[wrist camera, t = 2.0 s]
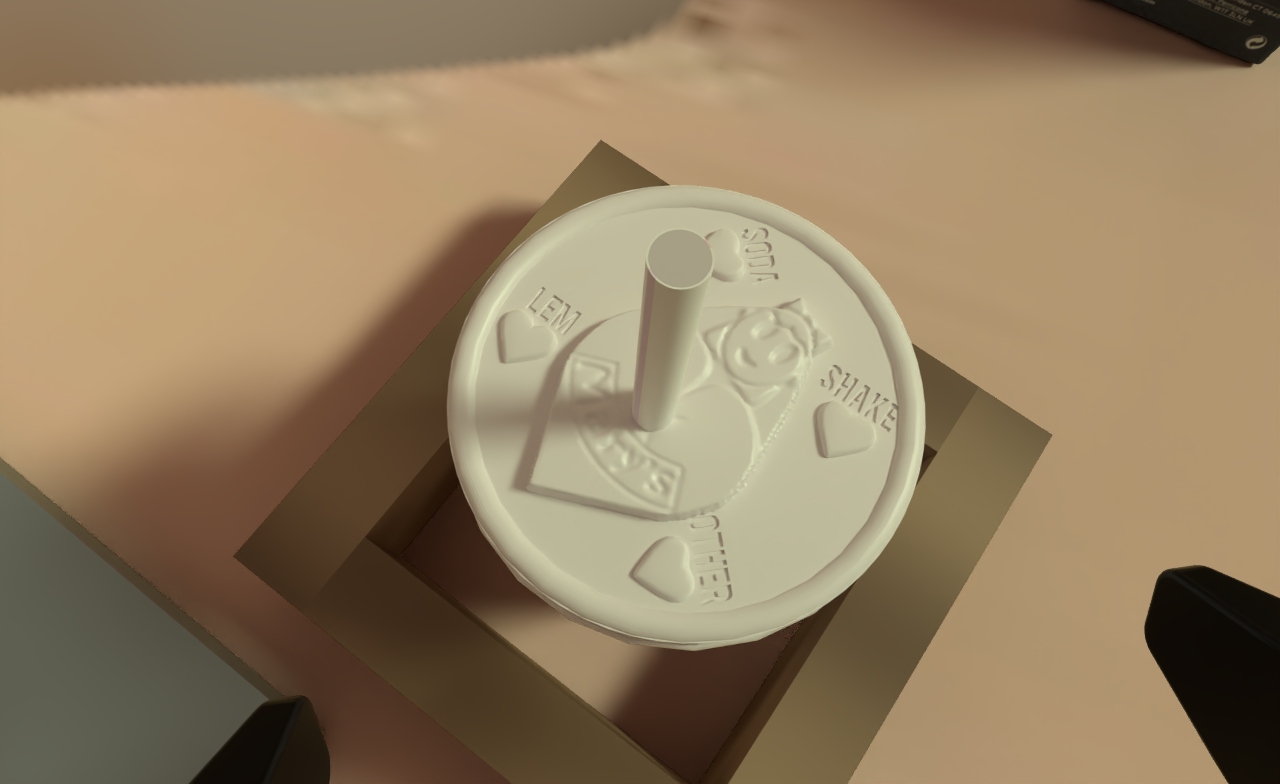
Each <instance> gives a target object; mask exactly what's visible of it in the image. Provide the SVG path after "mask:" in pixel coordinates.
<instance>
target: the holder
mask: <svg viewBox="0 0 1280 784" xmlns="http://www.w3.org/2000/svg"><path fill="white" fill-rule="evenodd" d="M657 186H670V185H669V184H668V183H666V182H664V181H663V180H661V179H660V178H658V177H657V176H655V175H654V174H652V173H651V172H649V171H648V170H646V169H645V168H643V167H642V166H640V165H638V164H637V163H635V162H634V161H632V160H631V159H629V158H628V157H626V156H625V155H623V154H622V153H620V152H619V151H617V150H616V149H614V148H612V147H611V146H609V145H608V144H606V143H605V142H603V141H602V140H600V142H599V143H598V144H597V145H596V146H595V147H594V148H593V149H592V151H591V152H590V153H589V154H588V155H587V156H586V157H585V158H584V160H583V161H582V162H581V163H580V164H579V165H578V166H577V168H576V169H575V170H574V171H573V172H572V173H571V174H570V175H569V177H568V178H567V179H566V180H565V181H564V182H563V183H562V185H561V186H560V187H559V188H558V189H557V190H556V191H555V192H554V194H553V195H552V196H551V197H550V198H549V199H548V200H547V202H546V203H545V204H544V205H543V206H542V207H541V208H540V209H539V211H538V212H537V213H536V214H535V215H534V216H533V217H532V219H531V220H530V221H529V222H528V223H527V224H526V225H525V226H524V228H523V229H522V230H521V231H520V232H519V233H518V234H517V235H516V237H515V238H514V239H513V240H512V241H511V242H510V243H509V245H508V246H507V247H506V248H505V249H504V250H503V251H502V252H501V254H500V255H499V256H498V257H497V258H496V259H495V260H494V262H493V263H492V264H491V265H490V266H489V267H488V268H487V269H486V271H485V272H484V273H483V274H482V275H481V276H480V277H479V279H478V280H477V281H476V282H475V283H474V284H473V285H472V286H471V288H470V289H469V290H468V291H467V292H466V293H465V294H464V295H463V297H462V298H461V299H460V300H459V301H458V302H457V303H456V305H455V306H454V307H453V308H452V309H451V310H450V311H449V312H448V314H447V315H446V316H445V317H444V318H443V319H442V320H441V322H440V323H439V324H438V325H437V326H436V327H435V328H434V329H433V331H432V332H431V333H430V334H429V335H428V336H427V337H426V339H425V340H424V341H423V342H422V343H421V344H420V345H419V346H418V348H417V349H416V350H415V351H414V352H413V353H412V354H411V356H410V357H409V358H408V359H407V360H406V361H405V362H404V363H403V365H402V366H401V367H400V368H399V369H398V370H397V371H396V372H395V374H394V375H393V376H392V377H391V378H390V379H389V380H388V382H387V383H386V384H385V385H384V386H383V387H382V388H381V389H380V391H379V392H378V393H377V394H376V395H375V396H374V397H373V399H372V400H371V401H370V402H369V403H368V404H367V405H366V406H365V408H364V409H363V410H362V411H361V412H360V413H359V414H358V416H357V417H356V418H355V419H354V420H353V421H352V422H351V423H350V425H349V426H348V427H347V428H346V429H345V430H344V431H343V433H342V434H341V435H340V436H339V437H338V438H337V439H336V440H335V442H334V443H333V444H332V445H331V446H330V447H329V448H328V449H327V451H326V452H325V453H324V454H323V455H322V456H321V457H320V459H319V460H318V461H317V462H316V463H315V464H314V465H313V466H312V468H311V469H310V470H309V471H308V472H307V473H306V474H305V476H304V477H303V478H302V479H301V480H300V481H299V482H298V483H297V485H296V486H295V487H294V488H293V489H292V490H291V491H290V493H289V494H288V495H287V496H286V497H285V498H284V499H283V500H282V502H281V503H280V504H279V505H278V506H277V507H276V508H275V510H274V511H273V512H272V513H271V514H270V515H269V516H268V517H267V519H266V520H265V521H264V522H263V523H262V524H261V525H260V526H259V528H258V529H257V530H256V531H255V532H254V533H253V534H252V536H251V537H250V538H249V539H248V540H247V541H246V542H245V543H244V545H243V546H242V547H241V548H240V549H239V550H238V551H237V553H236V554H235V555H234V556H233V557H235V558H236V559H237V560H238V561H239V562H241V563H242V564H243V565H244V566H246V567H247V568H248V569H249V570H250V571H252V572H253V573H254V574H255V575H257V576H258V577H259V578H260V579H261V580H263V581H264V582H265V583H266V584H268V585H269V586H270V587H271V588H272V589H274V590H275V591H276V592H277V593H279V594H280V595H281V596H282V597H283V598H285V599H286V600H287V601H288V602H290V603H291V604H292V605H293V606H295V607H296V608H297V609H298V610H299V611H301V612H302V613H303V614H304V615H306V616H307V617H308V618H309V619H310V620H312V621H313V622H314V623H315V624H317V625H318V626H319V627H320V628H321V629H323V630H324V631H325V632H326V633H328V634H329V635H330V636H331V637H332V638H334V639H335V640H336V641H337V642H339V643H340V644H341V645H342V646H344V647H345V648H346V649H347V650H348V651H350V652H351V653H352V654H353V655H355V656H356V657H357V658H358V659H359V660H361V661H362V662H363V663H364V664H366V665H367V666H368V667H369V668H370V669H372V670H373V671H374V672H375V673H377V674H378V675H379V676H380V677H381V678H383V679H384V680H385V681H386V682H388V683H389V684H390V685H391V686H392V687H394V688H395V689H396V690H397V691H399V692H400V693H401V694H402V695H404V696H405V697H406V698H407V699H408V700H410V701H411V702H412V703H413V704H415V705H416V706H417V707H418V708H419V709H421V710H422V711H423V712H424V713H426V714H427V715H428V716H429V717H430V718H432V719H433V720H434V721H435V722H437V723H438V724H439V725H440V726H441V727H443V728H444V729H445V730H446V731H448V732H449V733H450V734H451V735H453V736H454V737H455V738H456V739H457V740H459V741H460V742H461V743H462V744H464V745H465V746H466V747H467V748H468V749H470V750H471V751H472V752H473V753H475V754H476V755H477V756H478V757H479V758H481V759H482V760H483V761H484V762H486V763H487V764H488V765H489V766H490V767H492V768H493V769H494V770H495V771H497V772H498V773H499V774H500V775H501V776H503V777H504V778H505V779H506V780H508V781H509V782H510V783H511V784H690V783H689V782H687V781H686V780H685V779H683V778H682V777H681V776H680V775H678V774H677V773H676V772H674V771H673V770H672V769H671V768H669V767H668V766H667V765H666V764H664V763H663V762H662V761H660V760H659V759H658V758H657V757H655V756H654V755H653V754H652V753H650V752H649V751H648V750H646V749H645V748H644V747H643V746H641V745H640V744H639V743H637V742H636V741H635V740H634V739H632V738H631V737H630V736H629V735H627V734H626V733H625V732H623V731H622V730H621V729H620V728H618V727H617V726H616V725H615V724H613V723H612V722H611V721H609V720H608V719H607V718H606V717H604V716H603V715H602V714H601V713H599V712H598V711H597V710H595V709H594V708H593V707H592V706H590V705H589V704H588V703H586V702H585V701H584V700H583V699H581V698H580V697H579V696H578V695H576V694H575V693H574V692H572V691H571V690H570V689H569V688H567V687H566V686H565V685H564V684H562V683H561V682H560V681H558V680H557V679H556V678H555V677H553V676H552V675H551V674H549V673H548V672H547V671H546V670H544V669H543V668H542V667H541V666H539V665H538V664H537V663H535V662H534V661H533V660H532V659H530V658H529V657H528V656H527V655H525V654H524V653H523V652H521V651H520V650H519V649H518V648H516V647H515V646H514V645H513V644H511V643H510V642H509V641H507V640H506V639H505V638H504V637H502V636H501V635H500V634H498V633H497V632H496V631H495V630H493V629H492V628H491V627H490V626H488V625H487V624H486V623H484V622H483V621H482V620H481V619H479V618H478V617H477V616H476V615H474V614H473V613H472V612H470V611H469V610H468V609H467V608H465V607H464V606H463V605H461V604H460V603H459V602H458V601H456V600H455V599H454V598H453V597H451V596H450V595H449V594H447V593H446V592H445V591H444V590H442V589H441V588H440V587H439V586H437V585H436V584H435V583H433V582H432V581H431V580H430V579H428V578H427V577H426V576H424V575H423V574H422V573H421V572H419V571H418V570H417V569H416V568H414V567H413V566H412V565H410V564H409V563H408V562H407V561H405V560H404V559H403V558H402V557H400V555H401V554H402V553H403V551H404V550H405V549H406V548H407V547H408V545H409V544H410V543H411V542H412V540H413V539H414V538H415V537H416V536H417V534H418V533H419V532H420V531H421V529H422V528H423V527H424V526H425V525H426V523H427V522H428V521H429V520H430V518H431V517H432V516H433V515H434V514H435V512H436V511H437V510H438V509H439V507H440V506H441V505H442V504H443V503H444V501H445V500H446V499H447V498H448V496H449V495H450V494H451V493H452V492H453V490H454V489H455V488H456V487H457V485H458V484H459V483H460V481H459V478H458V476H457V473H456V469H455V465H454V461H453V457H452V453H451V447H450V441H449V434H448V423H447V394H448V381H449V375H450V369H451V363H452V359H453V355H454V351H455V348H456V344H457V341H458V338H459V335H460V333H461V330H462V327H463V325H464V322H465V320H466V318H467V316H468V314H469V312H470V310H471V308H472V306H473V304H474V302H475V300H476V298H477V297H478V295H479V294H480V292H481V290H482V289H483V287H484V286H485V284H486V283H487V281H488V280H489V279H490V277H491V276H492V275H493V274H494V272H495V271H496V270H497V269H498V267H499V266H500V265H501V264H502V263H503V262H504V261H505V260H506V258H507V257H508V256H509V255H510V254H511V253H512V252H513V251H514V250H515V249H516V248H517V247H519V246H520V245H521V244H522V243H523V242H524V241H526V240H527V239H528V238H529V237H530V236H531V235H533V234H534V233H535V232H537V231H538V230H540V229H541V228H543V227H544V226H545V225H547V224H548V223H550V222H551V221H553V220H555V219H557V218H558V217H560V216H562V215H564V214H565V213H567V212H569V211H571V210H573V209H576V208H578V207H580V206H582V205H584V204H586V203H589V202H592V201H595V200H597V199H600V198H603V197H606V196H609V195H613V194H617V193H621V192H625V191H629V190H635V189H641V188H647V187H657ZM912 346H913V349H914V352H915V356H916V359H917V362H918V366H919V370H920V375H921V379H922V384H923V392H924V401H925V425H926V429H925V441H924V451H923V457H922V462H921V467H920V473H919V476H918V479H917V483H916V486H915V489H914V493H913V496H912V498H911V500H910V503H909V505H908V507H907V510H906V512H905V515H904V517H903V519H902V520H901V522H900V524H899V526H898V528H897V529H896V531H895V533H894V535H893V537H892V538H891V539H890V541H889V542H888V544H887V545H886V547H885V548H884V549H883V551H882V552H881V554H880V555H879V556H878V557H877V559H876V560H875V561H874V562H873V563H872V564H871V565H870V567H869V568H868V569H867V570H866V571H865V572H864V573H863V574H862V575H861V576H860V577H859V578H858V579H857V580H856V581H855V582H854V583H853V584H852V585H850V586H849V587H848V588H847V589H846V590H845V591H843V592H842V593H841V594H839V595H838V596H837V597H835V598H834V599H833V600H831V601H830V602H829V603H827V604H826V605H824V606H823V607H822V608H820V609H819V610H818V611H817V612H816V613H815V614H813V615H810V616H808V617H806V618H805V619H804V620H803V622H802V623H801V625H800V626H799V628H798V630H797V631H796V633H795V634H794V636H793V637H792V639H791V640H790V642H789V644H788V645H787V647H786V648H785V650H784V651H783V653H782V654H781V656H780V658H779V659H778V661H777V662H776V664H775V665H774V667H773V668H772V670H771V672H770V673H769V675H768V676H767V678H766V679H765V681H764V682H763V684H762V686H761V687H760V689H759V690H758V692H757V693H756V695H755V696H754V698H753V700H752V701H751V703H750V704H749V706H748V707H747V709H746V710H745V712H744V714H743V715H742V717H741V718H740V720H739V721H738V723H737V724H736V726H735V728H734V729H733V731H732V732H731V734H730V735H729V737H728V738H727V740H726V742H725V743H724V745H723V746H722V748H721V749H720V751H719V752H718V754H717V756H716V757H715V759H714V760H713V762H712V763H711V765H710V766H709V768H708V770H707V771H706V773H705V774H704V776H703V777H702V779H701V781H700V782H699V784H847V783H848V782H849V780H850V778H851V776H852V775H853V773H854V771H855V770H856V768H857V766H858V765H859V763H860V761H861V759H862V758H863V756H864V754H865V753H866V751H867V749H868V748H869V746H870V744H871V742H872V741H873V739H874V737H875V736H876V734H877V732H878V731H879V729H880V727H881V726H882V724H883V722H884V720H885V719H886V717H887V715H888V714H889V712H890V710H891V709H892V707H893V705H894V703H895V702H896V700H897V698H898V697H899V695H900V693H901V692H902V690H903V688H904V686H905V685H906V683H907V681H908V680H909V678H910V676H911V675H912V673H913V671H914V669H915V668H916V666H917V664H918V663H919V661H920V659H921V658H922V656H923V654H924V652H925V651H926V649H927V647H928V646H929V644H930V642H931V641H932V639H933V637H934V635H935V634H936V632H937V630H938V629H939V627H940V625H941V624H942V622H943V620H944V619H945V617H946V615H947V613H948V612H949V610H950V608H951V607H952V605H953V603H954V602H955V600H956V598H957V596H958V595H959V593H960V591H961V590H962V588H963V586H964V585H965V583H966V581H967V579H968V578H969V576H970V574H971V573H972V571H973V569H974V568H975V566H976V564H977V562H978V561H979V559H980V557H981V556H982V554H983V552H984V551H985V549H986V547H987V545H988V544H989V542H990V540H991V539H992V537H993V535H994V534H995V532H996V530H997V528H998V527H999V525H1000V523H1001V522H1002V520H1003V518H1004V517H1005V515H1006V513H1007V511H1008V510H1009V508H1010V506H1011V505H1012V503H1013V501H1014V500H1015V498H1016V496H1017V495H1018V493H1019V491H1020V489H1021V488H1022V486H1023V484H1024V483H1025V481H1026V479H1027V478H1028V476H1029V474H1030V472H1031V471H1032V469H1033V467H1034V466H1035V464H1036V462H1037V461H1038V459H1039V457H1040V455H1041V454H1042V452H1043V450H1044V449H1045V447H1046V445H1047V444H1048V442H1049V440H1050V438H1051V437H1052V434H1050V433H1049V432H1047V431H1046V430H1044V429H1042V428H1041V427H1039V426H1038V425H1036V424H1035V423H1033V422H1032V421H1030V420H1029V419H1027V418H1026V417H1024V416H1023V415H1021V414H1020V413H1018V412H1016V411H1015V410H1013V409H1012V408H1010V407H1009V406H1007V405H1006V404H1004V403H1003V402H1001V401H1000V400H998V399H997V398H995V397H993V396H992V395H990V394H989V393H987V392H986V391H984V390H983V389H981V388H980V387H978V386H977V385H975V384H974V383H972V382H971V381H969V380H967V379H966V378H964V377H963V376H961V375H960V374H958V373H957V372H955V371H954V370H952V369H951V368H949V367H948V366H946V365H945V364H943V363H941V362H940V361H938V360H937V359H935V358H934V357H932V356H931V355H929V354H928V353H926V352H925V351H923V350H922V349H920V348H919V347H917V346H915V345H914V344H912Z"/></svg>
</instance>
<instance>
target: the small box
mask: <svg viewBox="0 0 1280 784" xmlns="http://www.w3.org/2000/svg"><path fill="white" fill-rule="evenodd" d="M1104 1H1106V2H1108V3H1110V4H1113V5H1116V6H1117V7H1120V8H1122V9H1124V10H1127V11H1130V12H1132V13H1135V14H1137V15H1140V16H1142V17H1145V18H1147V19H1149V20H1151V21H1154V22H1156V23H1158V24H1160V25H1163V26H1165V27H1167V28H1170V29H1172V30H1174V31H1176V32H1179V33H1181V34H1183V35H1186V36H1188V37H1191V38H1193V39H1195V40H1198V41H1199V42H1201V43H1203V44H1205V45H1207V46H1210V47H1213V48H1216V49H1218V50H1220V51H1223V52H1225V53H1227V54H1230V55H1233V56H1235V57H1238V58H1241V59H1243V60H1246V61H1248V62H1251V63H1255V64H1261V63H1262V62H1263V61H1264V60H1265V59H1266V58H1267V57H1268V56H1269V55H1270V54H1271V53H1273V52H1274V51H1275V50H1276V49H1277V48H1278V47H1279V46H1280V0H1104Z"/></svg>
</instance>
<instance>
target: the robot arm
mask: <svg viewBox="0 0 1280 784" xmlns="http://www.w3.org/2000/svg"><path fill="white" fill-rule="evenodd" d="M1144 632H1145V639H1146V642H1147V645H1148V648H1149V650H1150V652H1151V654H1152V655H1153V657H1154V659H1155V661H1156V662H1157V664H1158V666H1159V667H1160V669H1161V671H1162V673H1163V674H1164V676H1165V678H1166V679H1167V681H1168V683H1169V685H1170V686H1171V688H1172V690H1173V691H1174V693H1175V695H1176V697H1177V698H1178V700H1179V702H1180V703H1181V705H1182V707H1183V708H1184V710H1185V712H1186V714H1187V715H1188V717H1189V719H1190V720H1191V722H1192V724H1193V726H1194V727H1195V729H1196V731H1197V732H1198V734H1199V736H1200V738H1201V739H1202V741H1203V743H1204V744H1205V746H1206V748H1207V750H1208V751H1209V753H1210V755H1211V756H1212V758H1213V760H1214V761H1215V763H1216V765H1217V766H1218V768H1219V769H1220V771H1221V773H1222V774H1223V776H1224V777H1225V779H1226V781H1227V782H1228V784H1280V598H1278V597H1276V596H1274V595H1271V594H1269V593H1267V592H1265V591H1262V590H1260V589H1258V588H1255V587H1253V586H1251V585H1248V584H1246V583H1244V582H1242V581H1239V580H1237V579H1235V578H1232V577H1230V576H1228V575H1225V574H1223V573H1221V572H1218V571H1216V570H1214V569H1212V568H1209V567H1206V566H1202V565H1193V566H1186V567H1179V568H1172V569H1167V570H1165V571H1163V572H1162V573H1161V574H1160V575H1159V577H1158V579H1157V581H1156V585H1155V588H1154V592H1153V596H1152V599H1151V603H1150V607H1149V610H1148V614H1147V618H1146V621H1145V627H1144ZM329 781H330V757H329V752H328V748H327V745H326V742H325V740H324V737H323V734H322V731H321V728H320V725H319V723H318V720H317V717H316V714H315V711H314V708H313V706H312V703H311V702H310V700H309V699H308V698H307V697H305V696H301V695H299V696H292V697H285V698H278V699H272V700H268V701H265V702H263V703H262V704H261V705H259V706H258V707H257V708H256V709H255V710H254V712H253V713H252V714H251V715H250V716H249V717H248V718H247V719H246V720H245V722H244V723H243V724H242V725H241V726H240V727H239V728H238V729H237V730H236V731H235V733H234V734H233V735H232V736H231V737H230V738H229V739H228V740H227V741H226V743H225V744H224V745H223V746H222V747H221V748H220V749H219V750H218V751H217V752H216V754H215V755H214V756H213V757H212V758H211V759H210V760H209V761H208V762H207V764H206V765H205V766H204V767H203V768H202V769H201V770H200V771H199V772H198V773H197V775H196V776H195V777H194V778H193V779H192V780H191V781H190V782H189V783H188V784H329Z"/></svg>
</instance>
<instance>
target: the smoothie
mask: <svg viewBox="0 0 1280 784" xmlns="http://www.w3.org/2000/svg"><path fill="white" fill-rule="evenodd" d="M447 423H448V434H449V441H450V447H451V453H452V457H453V461H454V465H455V469H456V473H457V476H458V478H459V481H460V484H461V487H462V489H463V492H464V495H465V497H466V499H467V501H468V503H469V505H470V507H471V509H472V511H473V513H474V516H475V518H476V521H477V523H478V526H479V529H480V531H481V532H482V534H483V535H484V536H485V538H486V539H487V540H488V542H489V543H490V544H491V546H492V547H493V548H494V550H495V551H496V552H497V554H498V555H499V556H500V558H501V559H502V560H503V561H504V563H505V564H506V565H507V567H508V568H509V569H510V571H511V572H512V573H513V575H514V576H515V577H516V579H517V580H518V581H519V582H520V583H522V584H523V585H524V586H526V587H527V588H528V589H529V590H531V591H532V592H533V593H535V594H536V595H537V596H539V597H540V598H541V599H543V600H544V601H545V602H546V603H548V604H549V605H550V606H552V607H553V608H554V609H556V610H557V611H558V612H560V613H561V614H562V615H563V616H565V617H566V618H567V619H569V620H571V621H573V622H576V623H578V624H581V625H583V626H586V627H588V628H591V629H593V630H596V631H598V632H601V633H603V634H606V635H608V636H611V637H613V638H616V639H618V640H621V641H623V642H626V643H628V644H634V645H643V646H652V647H661V648H671V649H680V650H689V651H698V650H704V649H710V648H716V647H722V646H728V645H734V644H740V643H746V642H752V641H758V640H760V639H762V638H764V637H766V636H768V635H770V634H773V633H775V632H777V631H779V630H781V629H783V628H785V627H787V626H789V625H792V624H794V623H796V622H798V621H800V620H802V619H804V618H806V617H808V616H810V615H813V614H815V613H816V612H817V611H818V610H819V609H820V608H822V607H823V606H824V605H826V604H827V603H829V602H830V601H831V600H833V599H834V598H835V597H837V596H838V595H839V594H841V593H842V592H843V591H845V590H846V589H847V588H848V587H849V586H850V585H852V584H853V583H854V582H855V581H856V580H857V579H858V578H859V577H860V576H861V575H862V574H863V573H864V572H865V571H866V570H867V569H868V568H869V567H870V565H871V564H872V563H873V562H874V561H875V560H876V559H877V557H878V556H879V555H880V554H881V552H882V551H883V549H884V548H885V547H886V545H887V544H888V542H889V541H890V539H891V538H892V537H893V535H894V533H895V531H896V529H897V528H898V526H899V524H900V522H901V520H902V519H903V517H904V515H905V512H906V510H907V507H908V505H909V503H910V500H911V498H912V496H913V493H914V489H915V486H916V483H917V479H918V476H919V473H920V467H921V462H922V457H923V451H924V441H925V429H926V425H925V401H924V392H923V384H922V379H921V375H920V370H919V366H918V362H917V359H916V356H915V352H914V349H913V346H912V343H911V341H910V338H909V336H908V334H907V331H906V329H905V327H904V325H903V322H902V320H901V318H900V317H899V315H898V313H897V311H896V309H895V308H894V306H893V304H892V302H891V301H890V299H889V298H888V296H887V295H886V293H885V292H884V290H883V289H882V288H881V286H880V285H879V283H878V282H877V281H876V280H875V278H874V277H873V276H872V275H871V274H870V272H869V271H868V270H867V269H866V268H865V266H864V265H863V264H862V263H861V262H860V261H859V260H858V259H857V258H856V257H855V256H854V255H853V254H852V253H851V252H850V251H848V250H847V249H846V248H845V247H844V246H842V245H841V244H840V243H839V242H838V241H837V240H835V239H834V238H833V237H832V236H830V235H829V234H827V233H826V232H824V231H823V230H822V229H820V228H819V227H817V226H816V225H814V224H813V223H811V222H809V221H807V220H806V219H804V218H802V217H801V216H799V215H797V214H795V213H793V212H791V211H789V210H787V209H784V208H782V207H780V206H778V205H776V204H773V203H770V202H768V201H765V200H762V199H759V198H757V197H753V196H750V195H746V194H742V193H739V192H735V191H729V190H724V189H719V188H712V187H702V186H681V185H670V186H657V187H647V188H641V189H635V190H629V191H625V192H621V193H617V194H613V195H609V196H606V197H603V198H600V199H597V200H595V201H592V202H589V203H586V204H584V205H582V206H580V207H578V208H576V209H573V210H571V211H569V212H567V213H565V214H564V215H562V216H560V217H558V218H557V219H555V220H553V221H551V222H550V223H548V224H547V225H545V226H544V227H543V228H541V229H540V230H538V231H537V232H535V233H534V234H533V235H531V236H530V237H529V238H528V239H527V240H526V241H524V242H523V243H522V244H521V245H520V246H519V247H517V248H516V249H515V250H514V251H513V252H512V253H511V254H510V255H509V256H508V257H507V258H506V260H505V261H504V262H503V263H502V264H501V265H500V266H499V267H498V269H497V270H496V271H495V272H494V274H493V275H492V276H491V277H490V279H489V280H488V281H487V283H486V284H485V286H484V287H483V289H482V290H481V292H480V294H479V295H478V297H477V298H476V300H475V302H474V304H473V306H472V308H471V310H470V312H469V314H468V316H467V318H466V320H465V322H464V325H463V327H462V330H461V333H460V335H459V338H458V341H457V344H456V348H455V351H454V355H453V359H452V363H451V369H450V375H449V381H448V394H447Z"/></svg>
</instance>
